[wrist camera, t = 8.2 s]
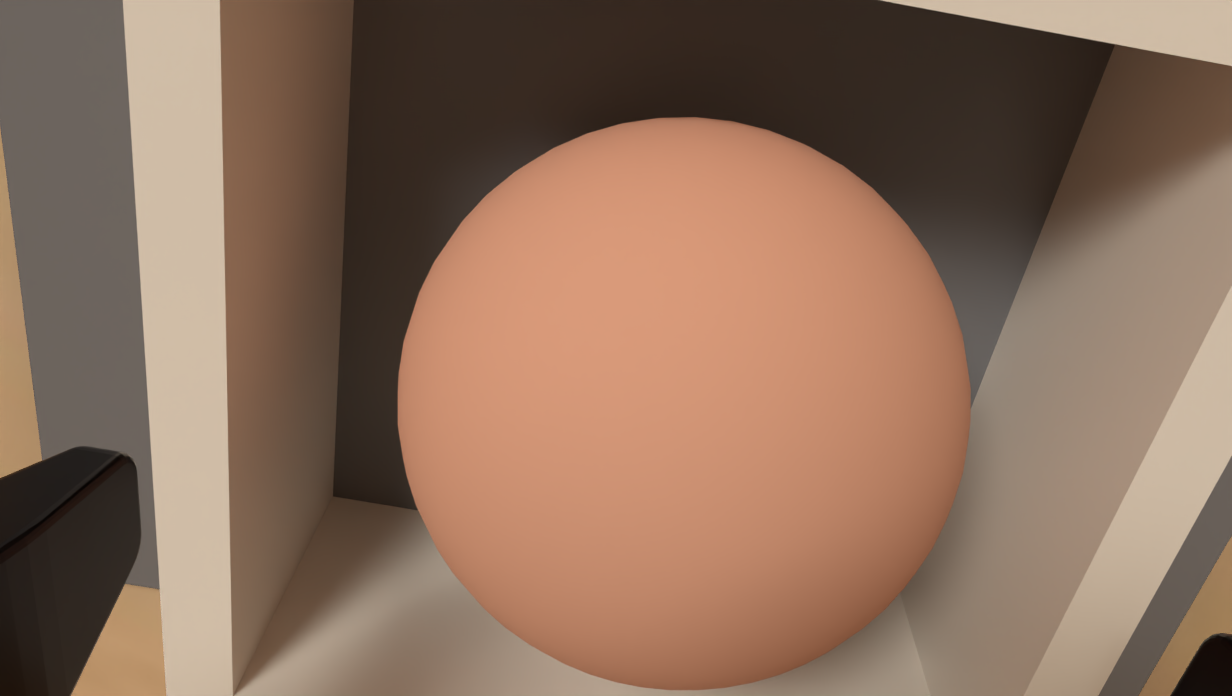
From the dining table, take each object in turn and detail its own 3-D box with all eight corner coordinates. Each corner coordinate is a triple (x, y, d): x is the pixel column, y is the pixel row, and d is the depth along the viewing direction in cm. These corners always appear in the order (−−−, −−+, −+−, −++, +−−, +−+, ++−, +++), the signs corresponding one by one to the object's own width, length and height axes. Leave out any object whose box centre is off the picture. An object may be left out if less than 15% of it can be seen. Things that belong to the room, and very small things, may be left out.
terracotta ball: (960, 106, 12) (1195, 326, 7) (829, 495, 15) (926, 863, 10) (476, 19, 12) (336, 181, 7) (435, 433, 15) (314, 778, 9)
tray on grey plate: (1592, -164, 11) (2125, -154, 7) (1097, 714, 18) (1225, 982, 14) (-42, -485, 10) (-495, -682, 6) (75, 549, 17) (-112, 777, 13)
